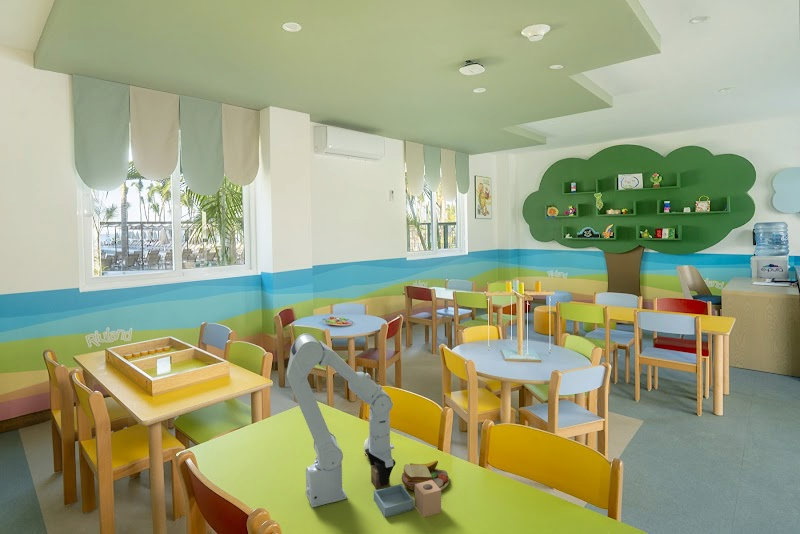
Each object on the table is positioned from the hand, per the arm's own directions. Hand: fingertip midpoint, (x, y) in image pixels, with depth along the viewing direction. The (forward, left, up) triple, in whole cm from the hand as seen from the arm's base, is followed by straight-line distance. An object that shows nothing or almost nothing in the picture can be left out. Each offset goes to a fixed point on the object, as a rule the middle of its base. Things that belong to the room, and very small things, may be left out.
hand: (380, 479), depth 127 cm
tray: (0, -10, -1) cm, 10 cm away
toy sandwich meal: (+12, -5, -2) cm, 13 cm away
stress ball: (+4, +16, -2) cm, 16 cm away
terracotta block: (+7, -16, -2) cm, 17 cm away
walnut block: (0, 0, -2) cm, 2 cm away
